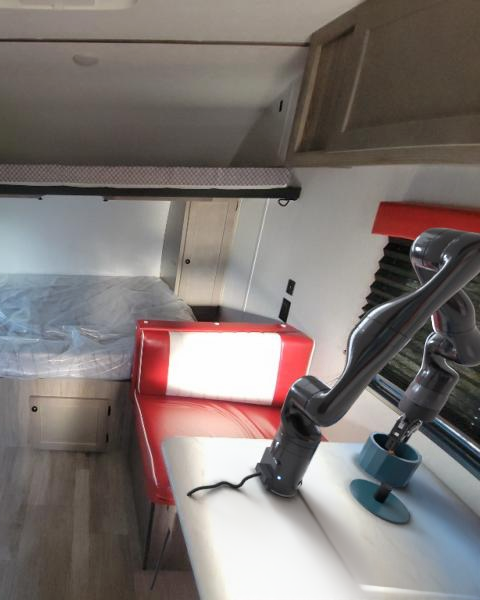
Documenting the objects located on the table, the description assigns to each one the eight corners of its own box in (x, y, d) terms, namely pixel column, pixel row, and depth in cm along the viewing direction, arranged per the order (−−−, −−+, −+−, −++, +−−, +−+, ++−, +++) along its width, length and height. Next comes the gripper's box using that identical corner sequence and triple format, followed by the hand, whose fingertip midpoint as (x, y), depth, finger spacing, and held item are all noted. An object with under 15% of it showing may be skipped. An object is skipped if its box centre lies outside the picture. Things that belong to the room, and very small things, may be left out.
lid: (372, 522, 84) (383, 505, 82) (338, 479, 96) (346, 463, 94) (420, 527, 85) (432, 511, 82) (380, 483, 96) (390, 468, 94)
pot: (376, 486, 95) (392, 460, 92) (347, 454, 106) (360, 429, 102) (416, 490, 95) (433, 464, 92) (383, 457, 106) (397, 433, 102)
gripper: (415, 386, 97) (390, 429, 103) (395, 397, 90) (369, 442, 96) (450, 402, 91) (421, 447, 97) (431, 415, 84) (401, 462, 90)
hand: (395, 444), depth 97 cm, fingers open, 8 cm apart
